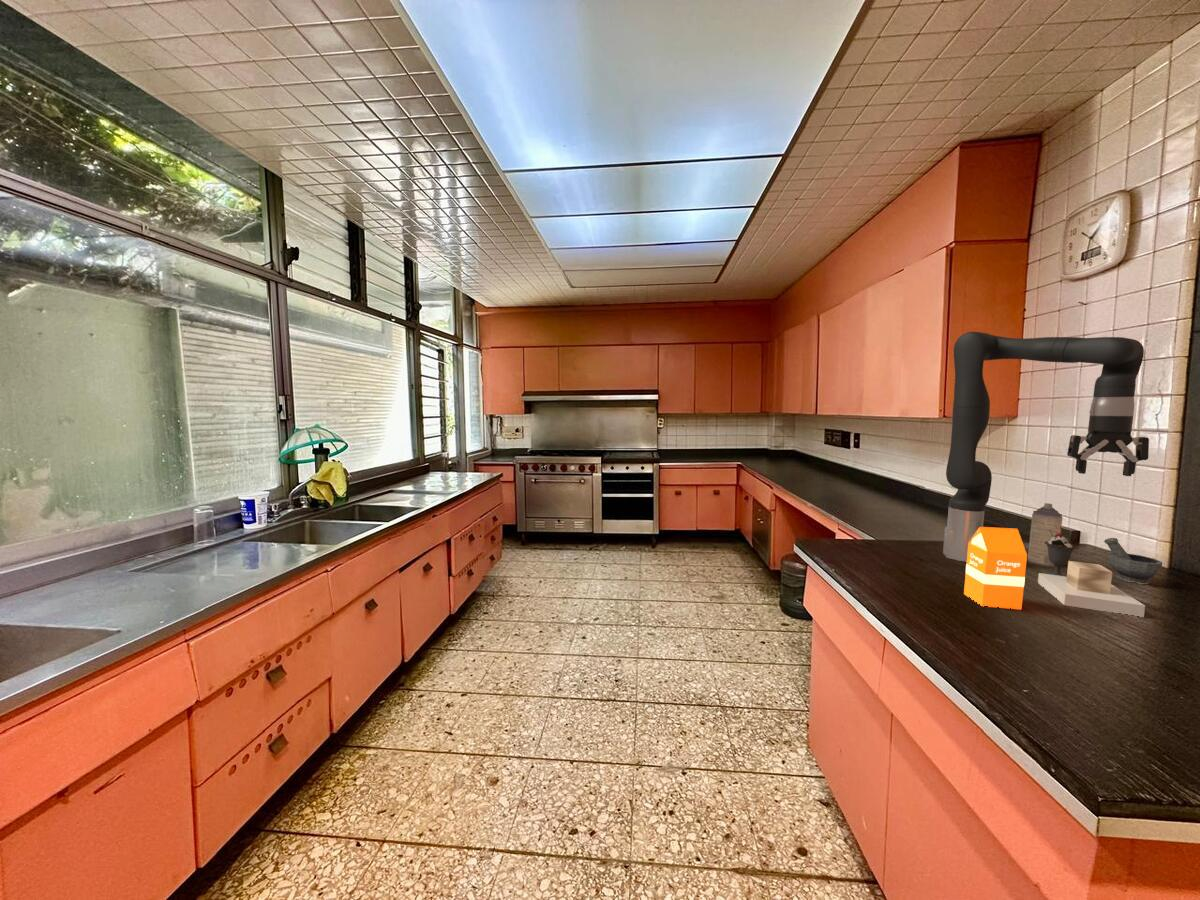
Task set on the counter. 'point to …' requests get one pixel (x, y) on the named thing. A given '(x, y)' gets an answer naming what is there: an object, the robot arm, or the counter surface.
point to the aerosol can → (1043, 534)
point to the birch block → (1089, 577)
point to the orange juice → (996, 568)
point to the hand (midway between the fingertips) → (1103, 474)
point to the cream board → (1091, 597)
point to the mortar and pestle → (1131, 563)
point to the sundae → (1059, 552)
